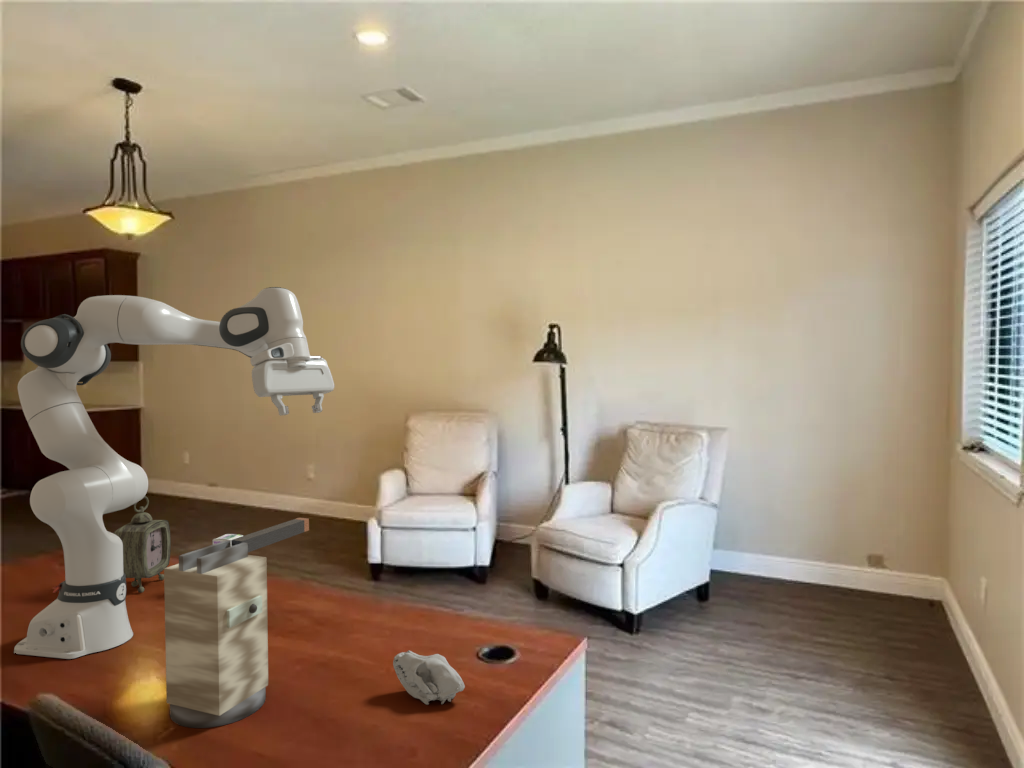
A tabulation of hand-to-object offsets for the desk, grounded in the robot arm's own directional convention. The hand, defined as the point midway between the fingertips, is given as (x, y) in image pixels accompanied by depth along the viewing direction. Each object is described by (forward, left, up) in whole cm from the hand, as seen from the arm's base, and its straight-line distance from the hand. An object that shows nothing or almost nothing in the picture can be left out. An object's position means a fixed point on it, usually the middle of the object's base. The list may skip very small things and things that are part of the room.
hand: (301, 413), depth 158 cm
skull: (+33, -30, -50) cm, 67 cm away
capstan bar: (0, -20, -24) cm, 31 cm away
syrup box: (-29, +29, -50) cm, 65 cm away
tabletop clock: (-54, +31, -50) cm, 80 cm away
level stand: (-5, -34, -50) cm, 61 cm away
